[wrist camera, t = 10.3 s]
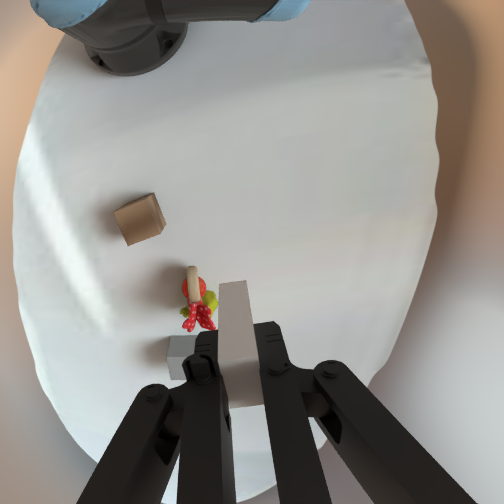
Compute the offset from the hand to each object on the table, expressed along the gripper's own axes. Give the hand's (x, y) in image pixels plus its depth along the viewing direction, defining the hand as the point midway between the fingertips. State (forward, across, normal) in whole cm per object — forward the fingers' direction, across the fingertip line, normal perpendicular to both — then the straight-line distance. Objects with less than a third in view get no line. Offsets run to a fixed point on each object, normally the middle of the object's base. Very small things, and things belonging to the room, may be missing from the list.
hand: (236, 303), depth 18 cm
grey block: (+29, -11, -24) cm, 39 cm away
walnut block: (+29, -12, 0) cm, 32 cm away
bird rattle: (+29, -7, -12) cm, 33 cm away
